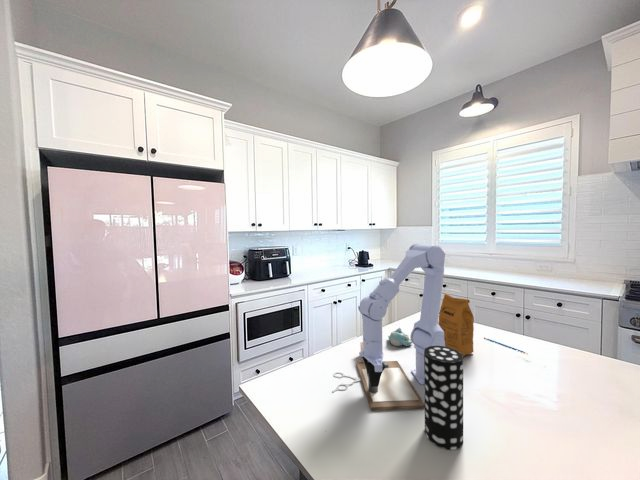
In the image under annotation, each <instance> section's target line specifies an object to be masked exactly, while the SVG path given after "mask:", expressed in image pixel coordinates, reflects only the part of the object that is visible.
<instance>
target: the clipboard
mask: <svg viewBox="0 0 640 480" xmlns="http://www.w3.org/2000/svg"><path fill="white" fill-rule="evenodd" d="M382 363H384V364H385V369H384V370H383V372H382V374H381V377H380V382H379V385H378V392H377V393H371V392H369V388H368V375H367V370H366V366H365V362H363V361H360V362H357V361H356V368H357V370H358V374H359V378H361V380H362V381H361V382H362V385H363V389H364V392H365V395H366V399H367V403H368V406H369V408H370V411H371V412H374V411H375V412H376V411H377V412H378V411H380V412H381V411H397V410H399V411H400V410H402V411H403V410H416V409H417V410H421V409H422V410H423V409H424V410H425V401H424V400H423V399H422V398H421V395H419V393H418V391H417V390H416V388H415V386H414V384H413V383H412V382H411V380H410V378H409V376H408V375H407V374H406V372H405V371H404V369H403V368H402V366H401V364H400V363H399V360H389V361H386V360H385V361H384V360H382Z"/></svg>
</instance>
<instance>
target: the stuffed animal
mask: <svg viewBox="0 0 640 480" xmlns="http://www.w3.org/2000/svg"><path fill="white" fill-rule="evenodd" d="M387 337H388V340H389V342H390V344H391V345H393V346H395V347H401V346H405V347H408V346H411V344H413V343H412V342H411V338H410V337H409V334H405V333H404V332H403V331H402V329H401V327H398V328H397V329H396V330H394V331H392V332H391V333H390V335H388V336H387Z"/></svg>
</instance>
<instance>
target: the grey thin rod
mask: <svg viewBox="0 0 640 480" xmlns="http://www.w3.org/2000/svg"><path fill="white" fill-rule="evenodd" d="M483 339H484V340H486V341H488V342H489V341H490V342H491V343H494V342H495V343H494V344H498V345H501V346H503V347H505V348H509V349H511V348H512V349H511V350H514V351H516V350H518V351H517V352H519V351H521V352H520V353H522V352H524V353H523V354H525V353H527V352H525V351H523V350H520V349H518V348H515V347H512V346H510V345H506V344H504V343H500V342H498V341H495V340H493V339H490V338H487V337H483Z"/></svg>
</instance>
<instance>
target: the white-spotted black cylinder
mask: <svg viewBox="0 0 640 480" xmlns="http://www.w3.org/2000/svg"><path fill="white" fill-rule="evenodd" d="M423 385H424V404H425V409H424V433H425V436H426V438H427V439H428V440H429V441H430V442H431V443H432V444H434V445H435V446H436V447H438V448H441V449H444V450H448V451H454V450H458V449H460V448H462V447H463V444H464V356H463V355H462V354H461V353H460V352H459V351H457V350H455V349H452V348H449V347H445V346H429V347H427V348H425V350H424V384H423Z"/></svg>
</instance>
